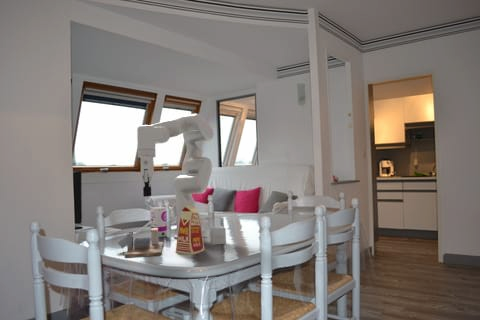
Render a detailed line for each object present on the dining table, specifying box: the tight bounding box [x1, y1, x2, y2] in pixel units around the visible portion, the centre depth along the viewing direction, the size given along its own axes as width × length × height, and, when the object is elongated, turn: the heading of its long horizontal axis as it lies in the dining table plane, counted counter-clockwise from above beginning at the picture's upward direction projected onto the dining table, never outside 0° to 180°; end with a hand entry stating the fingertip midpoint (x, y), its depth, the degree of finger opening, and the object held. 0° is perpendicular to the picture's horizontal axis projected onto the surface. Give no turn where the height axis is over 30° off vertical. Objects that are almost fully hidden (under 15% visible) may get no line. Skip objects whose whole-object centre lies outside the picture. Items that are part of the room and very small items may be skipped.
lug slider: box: [150, 228, 159, 244], centre depth 168 cm, size 3×7×7 cm, turn 9°
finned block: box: [133, 236, 151, 250], centre depth 162 cm, size 6×7×4 cm
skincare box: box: [209, 225, 227, 246], centre depth 173 cm, size 6×6×7 cm
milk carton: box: [175, 204, 205, 256], centre depth 157 cm, size 9×9×20 cm
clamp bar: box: [117, 220, 152, 249], centre depth 161 cm, size 16×3×3 cm
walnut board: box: [124, 241, 164, 258], centre depth 162 cm, size 14×23×1 cm, turn 9°
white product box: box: [150, 206, 168, 239], centre depth 197 cm, size 8×8×15 cm
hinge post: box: [126, 231, 134, 250], centre depth 161 cm, size 2×5×7 cm, turn 9°
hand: (147, 196), depth 163 cm, fingers closed
